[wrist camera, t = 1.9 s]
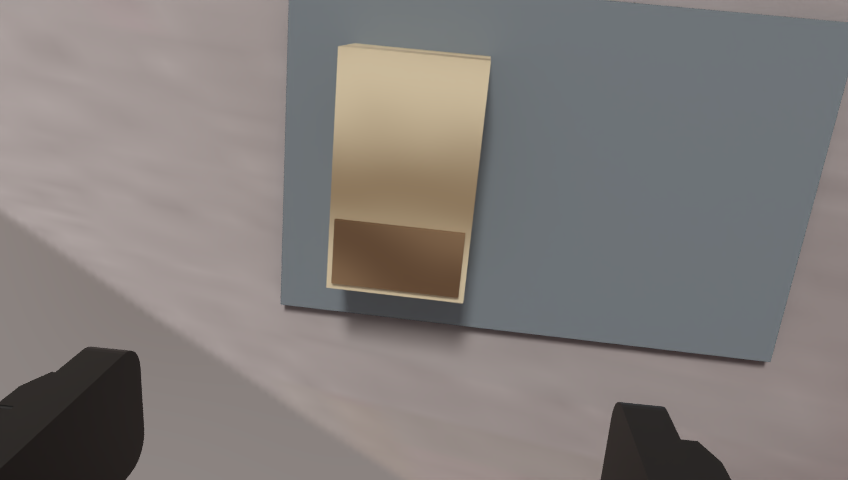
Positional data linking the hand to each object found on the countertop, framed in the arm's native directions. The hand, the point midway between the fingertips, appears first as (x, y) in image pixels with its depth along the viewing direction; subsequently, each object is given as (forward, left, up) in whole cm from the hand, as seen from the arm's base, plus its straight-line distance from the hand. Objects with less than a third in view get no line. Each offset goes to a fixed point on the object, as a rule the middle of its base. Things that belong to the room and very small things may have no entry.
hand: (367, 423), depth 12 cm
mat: (-1, +4, -17) cm, 17 cm away
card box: (-1, -1, -16) cm, 16 cm away
